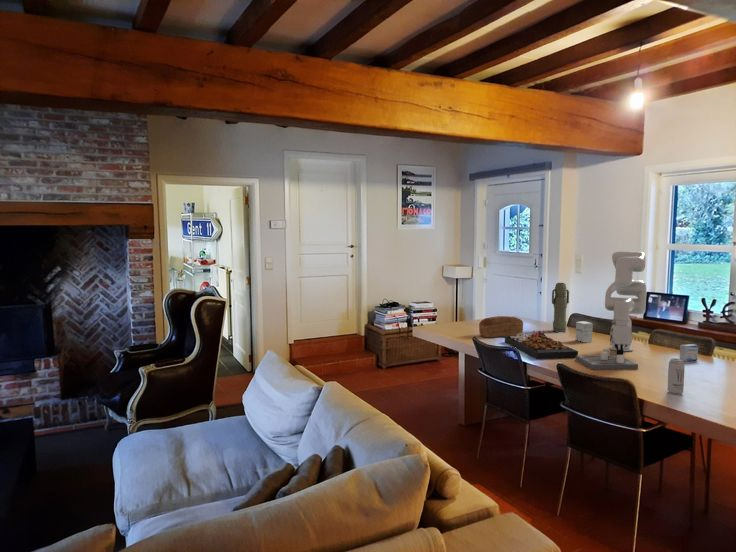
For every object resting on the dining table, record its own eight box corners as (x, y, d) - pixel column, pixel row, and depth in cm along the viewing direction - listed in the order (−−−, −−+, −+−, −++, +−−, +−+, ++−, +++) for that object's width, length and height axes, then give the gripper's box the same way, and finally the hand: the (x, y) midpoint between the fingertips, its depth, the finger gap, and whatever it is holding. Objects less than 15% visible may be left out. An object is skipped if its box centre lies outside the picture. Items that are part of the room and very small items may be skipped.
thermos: (570, 332, 359) (572, 283, 356) (555, 333, 357) (556, 283, 354) (563, 330, 368) (565, 282, 365) (548, 330, 366) (550, 282, 363)
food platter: (504, 343, 328) (505, 327, 327) (540, 341, 331) (540, 326, 330) (536, 360, 284) (537, 342, 283) (577, 358, 287) (578, 340, 286)
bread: (525, 336, 346) (526, 317, 345) (484, 338, 339) (485, 319, 338) (516, 333, 358) (516, 314, 357) (476, 335, 351) (476, 316, 350)
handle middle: (600, 359, 273) (600, 351, 272) (605, 359, 273) (606, 351, 272) (602, 359, 271) (602, 352, 271) (607, 359, 271) (607, 352, 271)
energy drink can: (674, 395, 220) (676, 361, 219) (664, 391, 226) (665, 358, 225) (686, 394, 221) (688, 361, 220) (675, 390, 227) (677, 357, 226)
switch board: (575, 360, 282) (575, 355, 281) (617, 359, 283) (617, 354, 282) (592, 369, 262) (593, 364, 261) (638, 369, 263) (638, 364, 262)
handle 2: (616, 362, 266) (616, 354, 265) (622, 362, 266) (622, 354, 266) (618, 363, 264) (618, 355, 264) (623, 363, 264) (624, 355, 264)
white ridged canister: (575, 340, 332) (575, 321, 331) (584, 339, 334) (585, 321, 333) (582, 342, 325) (583, 323, 324) (592, 342, 327) (593, 322, 326)
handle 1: (603, 355, 280) (603, 348, 279) (608, 355, 280) (608, 348, 280) (604, 356, 278) (604, 349, 278) (609, 356, 278) (610, 349, 278)
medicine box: (686, 361, 277) (686, 346, 276) (679, 359, 281) (679, 344, 280) (697, 360, 279) (698, 345, 278) (690, 358, 283) (691, 343, 282)
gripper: (611, 324, 266) (609, 358, 268) (638, 323, 267) (637, 357, 269) (603, 321, 274) (602, 354, 275) (630, 321, 274) (629, 354, 276)
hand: (619, 356), depth 272 cm, fingers closed
